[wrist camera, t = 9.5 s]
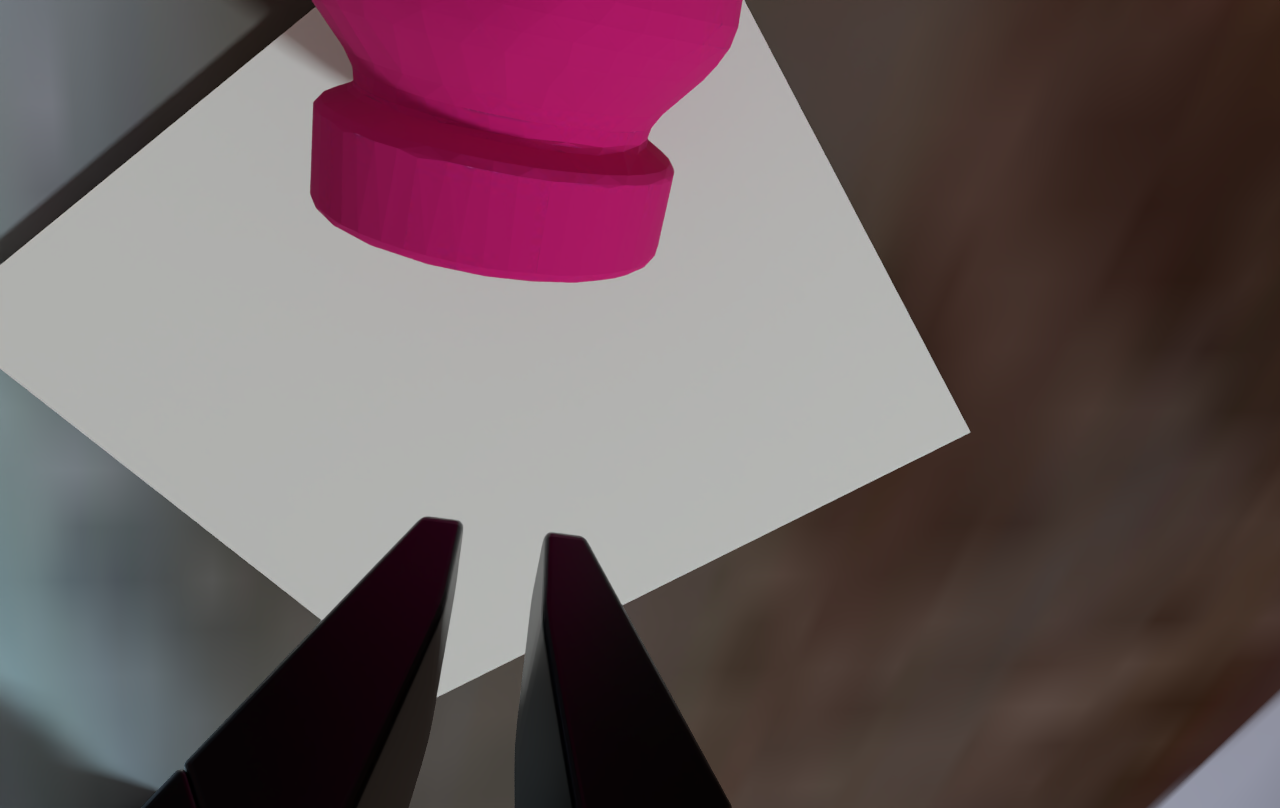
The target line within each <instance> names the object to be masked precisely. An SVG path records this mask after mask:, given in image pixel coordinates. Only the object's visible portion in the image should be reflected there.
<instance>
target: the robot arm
mask: <svg viewBox="0 0 1280 808" xmlns="http://www.w3.org/2000/svg"><path fill="white" fill-rule="evenodd" d="M462 536H463V524H462V523H461V522H460V521H459V520H454V519H446V518H438V517H431V516H426V517H423V518H421V519H420V520H418V521H417V522H416V523H415V524H414V525H413V526H412V527H411V529H410V530H409V531H408V532H407V533H406V534H405V535H404V536H403V537H402V538H401V539H400V540H399V541H398V542H397V543H396V544H395V545H394V546H393V547H392V548H391V549H390V550H389V551H388V552H387V553H386V554H385V555H384V557H383V558H382V559H381V560H380V561H379V562H378V563H377V564H376V565H375V566H374V567H373V568H372V569H371V570H370V571H369V572H368V573H367V574H366V575H365V576H364V577H363V578H362V579H361V580H360V581H359V582H358V584H357V585H356V586H355V587H354V588H353V589H352V590H351V591H350V592H349V593H348V594H347V595H346V596H345V597H344V598H343V599H342V600H341V601H340V602H339V603H338V604H337V605H336V606H335V607H334V608H333V609H332V610H331V612H330V613H329V614H328V615H327V616H326V617H325V618H324V619H323V620H322V621H321V622H320V623H319V624H318V625H317V626H316V627H315V628H314V629H313V630H312V631H311V632H310V633H309V634H308V635H307V636H306V637H305V638H304V640H303V641H302V642H301V643H300V644H299V645H298V646H297V647H296V648H295V649H294V650H293V651H292V652H291V653H290V654H289V655H288V656H287V657H286V658H285V659H284V660H283V661H282V662H281V663H280V664H279V665H278V667H277V668H276V669H275V670H274V671H273V672H272V673H271V674H270V675H269V676H268V677H267V678H266V679H265V680H264V681H263V682H262V683H261V684H260V685H259V686H258V687H257V688H256V689H255V690H254V691H253V692H252V693H251V695H250V696H249V697H248V698H247V699H246V700H245V701H244V702H243V703H242V704H241V705H240V706H239V707H238V708H237V709H236V710H235V711H234V712H233V713H232V714H231V715H230V716H229V717H228V718H227V719H226V720H225V722H224V723H223V724H222V725H221V726H220V727H219V728H218V729H217V730H216V731H215V732H214V733H213V734H212V735H211V736H210V737H209V738H208V739H207V740H206V741H205V742H204V743H203V744H202V745H201V746H200V747H199V748H198V750H197V751H196V752H195V753H194V754H193V755H192V756H191V757H190V758H189V759H188V760H187V761H186V762H185V765H184V767H185V771H184V770H177V771H176V772H175V773H174V774H173V775H172V776H171V777H170V778H169V779H168V780H167V781H166V782H165V783H164V784H163V785H162V786H161V787H160V788H159V789H158V790H157V791H156V793H155V794H154V795H153V796H152V797H151V798H150V799H149V800H148V801H147V802H146V803H145V804H144V805H143V806H142V807H141V808H408V807H409V804H410V801H411V798H412V794H413V791H414V788H415V785H416V781H417V778H418V775H419V771H420V768H421V765H422V761H423V758H424V754H425V750H426V747H427V743H428V739H429V734H430V730H431V725H432V720H433V715H434V709H435V704H436V698H437V692H438V687H439V681H440V675H441V669H442V664H443V658H444V652H445V647H446V641H447V635H448V630H449V624H450V618H451V613H452V607H453V601H454V595H455V589H456V582H457V575H458V567H459V559H460V552H461V544H462ZM515 808H732V807H731V804H730V802H729V800H728V799H727V797H726V795H725V793H724V791H723V789H722V788H721V786H720V784H719V782H718V780H717V778H716V777H715V775H714V773H713V771H712V769H711V767H710V766H709V764H708V762H707V760H706V758H705V756H704V755H703V753H702V751H701V749H700V747H699V745H698V743H697V742H696V740H695V738H694V736H693V734H692V732H691V731H690V729H689V727H688V725H687V723H686V721H685V720H684V718H683V716H682V714H681V712H680V710H679V709H678V707H677V705H676V703H675V701H674V699H673V698H672V696H671V694H670V692H669V690H668V688H667V687H666V685H665V683H664V681H663V679H662V677H661V676H660V674H659V672H658V670H657V668H656V666H655V665H654V663H653V661H652V659H651V657H650V655H649V654H648V652H647V650H646V648H645V646H644V644H643V643H642V641H641V639H640V637H639V635H638V633H637V632H636V630H635V628H634V626H633V624H632V622H631V620H630V619H629V617H628V615H627V613H626V611H625V609H624V608H623V606H622V604H621V602H620V600H619V598H618V597H617V595H616V593H615V591H614V589H613V587H612V586H611V584H610V582H609V580H608V578H607V576H606V575H605V573H604V571H603V569H602V567H601V565H600V564H599V562H598V560H597V558H596V556H595V554H594V553H593V551H592V549H591V547H590V545H589V543H588V542H587V540H586V539H585V538H584V537H582V536H579V535H571V534H563V533H555V532H549V533H547V534H546V535H545V537H544V539H543V543H542V548H541V553H540V558H539V563H538V568H537V573H536V578H535V583H534V588H533V594H532V600H531V607H530V616H529V624H528V633H527V642H526V650H525V659H524V668H523V677H522V685H521V694H520V703H519V711H518V720H517V730H516V742H515Z"/></svg>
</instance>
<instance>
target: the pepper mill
mask: <svg viewBox="0 0 1280 808" xmlns="http://www.w3.org/2000/svg"><path fill="white" fill-rule="evenodd" d="M742 1H743V0H312V2H313V3H314V5H315V6H316V8H317V9H318V11H319V12H320V14H321V15H322V17H323V18H324V20H325V21H326V22H327V24H328V25H329V27H330V28H331V30H332V31H333V33H334V34H335V36H336V37H337V39H338V40H339V42H340V43H341V45H342V46H343V48H344V50H345V52H346V54H347V56H348V58H349V61H350V63H351V65H352V70H353V81H351V82H348V83H345V84H342V85H339V86H335V87H333V88H330V89H328V90H325V91H323V93H322V94H321V95H320V96H319V97H318V98H317V99H316V100H315V101H314V102H313V120H312V149H311V178H310V195H311V198H312V200H313V203H314V205H315V207H316V209H317V210H318V211H319V212H320V213H321V214H322V215H323V216H324V217H325V218H326V219H327V220H328V221H329V222H330V223H332V224H333V225H334V226H335V227H337V228H339V229H341V230H343V231H345V232H347V233H348V234H350V235H352V236H354V237H356V238H358V239H360V240H361V241H363V242H365V243H367V244H369V245H371V246H374V247H377V248H380V249H383V250H386V251H389V252H392V253H395V254H398V255H401V256H404V257H407V258H410V259H413V260H416V261H419V262H422V263H425V264H429V265H433V266H438V267H443V268H448V269H452V270H457V271H462V272H467V273H472V274H476V275H481V276H486V277H495V278H504V279H514V280H523V281H532V282H564V283H578V282H588V281H598V280H606V279H613V278H617V277H621V276H625V275H628V274H630V273H632V272H634V271H637V270H639V269H641V268H644V267H645V266H646V265H647V264H648V263H649V262H650V260H651V259H652V258H653V257H654V256H655V254H656V251H657V247H658V244H659V239H660V235H661V230H662V226H663V221H664V217H665V212H666V208H667V203H668V199H669V194H670V190H671V185H672V181H673V176H674V168H673V166H672V164H671V162H670V160H669V158H668V157H667V156H666V155H665V154H664V153H663V152H662V151H661V150H660V149H659V148H657V147H656V146H655V145H654V144H653V143H651V142H650V141H649V140H648V136H649V133H650V131H651V128H652V127H653V126H654V124H655V123H656V122H657V121H658V120H659V118H660V117H661V116H662V115H663V114H664V113H665V112H666V111H668V110H669V109H670V108H671V107H672V106H674V105H675V104H676V103H677V102H678V101H679V100H681V99H682V98H683V97H684V96H685V95H687V94H688V93H689V92H690V91H691V90H692V89H694V88H695V87H696V86H697V85H698V84H700V83H701V82H702V81H703V80H704V79H705V78H706V77H707V76H708V75H709V74H710V73H711V72H712V71H713V69H714V68H715V67H716V66H717V65H718V64H719V62H720V61H721V60H722V58H723V57H724V56H725V54H726V53H727V52H728V50H729V49H730V48H731V45H732V42H733V40H734V37H735V35H736V32H737V29H738V26H739V19H740V13H741V7H742Z"/></svg>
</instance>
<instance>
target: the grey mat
mask: <svg viewBox="0 0 1280 808" xmlns="http://www.w3.org/2000/svg"><path fill="white" fill-rule="evenodd" d="M351 81H353V70H352V65H351V63H350V61H349V58H348V56H347V54H346V52H345V50H344V48H343V46H342V45H341V43H340V42H339V40H338V39H337V37H336V36H335V34H334V33H333V31H332V30H331V28H330V27H329V25H328V24H327V22H326V21H325V20H324V18H323V17H322V15H321V14H320V12H319V11H318V9H317V8H316V7H315V8H314V9H312V10H311V11H310V12H309V13H307V14H306V15H305V16H304V17H303V18H301V19H300V20H299V21H298V22H296V23H295V24H294V25H293V26H292V27H290V28H289V29H288V30H287V31H285V32H284V33H283V34H282V35H281V36H279V37H278V38H277V39H276V40H274V41H273V42H272V43H271V44H270V45H268V46H267V47H266V48H265V49H263V50H262V51H261V52H260V53H259V54H257V55H256V56H255V57H254V58H252V59H251V60H250V61H249V62H248V63H246V64H245V65H244V66H243V67H241V68H240V69H239V70H238V71H237V72H235V73H234V74H233V75H232V76H231V77H229V78H228V79H227V80H226V81H224V82H223V83H222V84H221V85H220V86H218V87H217V88H216V89H215V90H213V91H212V92H211V93H210V94H209V95H207V96H206V97H205V98H204V99H202V100H201V101H200V102H199V103H198V104H196V105H195V106H194V107H193V108H191V109H190V110H189V111H188V112H187V113H185V114H184V115H183V116H182V117H180V118H179V119H178V120H177V121H176V122H174V123H173V124H172V125H171V126H169V127H168V128H167V129H166V130H165V131H163V132H162V133H161V134H160V135H158V136H157V137H156V138H155V139H154V140H152V141H151V142H150V143H149V144H147V145H146V146H145V147H144V148H143V149H141V150H140V151H139V152H138V153H136V154H135V155H134V156H133V157H132V158H130V159H129V160H128V161H127V162H125V163H124V164H123V165H122V166H121V167H119V168H118V169H117V170H116V171H114V172H113V173H112V174H111V175H110V176H108V177H107V178H106V179H105V180H103V181H102V182H101V183H100V184H99V185H97V186H96V187H95V188H94V189H92V190H91V191H90V192H89V193H88V194H86V195H85V196H84V197H83V198H81V199H80V200H79V201H78V202H77V203H75V204H74V205H73V206H72V207H70V208H69V209H68V210H67V211H66V212H64V213H63V214H62V215H61V216H59V217H58V218H57V219H56V220H55V221H53V222H52V223H51V224H50V225H49V226H47V227H46V228H45V229H44V230H42V231H41V232H40V233H39V234H38V235H36V236H35V237H34V238H33V239H31V240H30V241H29V242H28V243H27V244H25V245H24V246H23V247H22V248H20V249H19V250H18V251H17V252H16V253H14V254H13V255H12V256H11V257H9V258H8V259H7V260H6V261H5V262H3V263H2V264H1V265H0V369H1V370H3V371H4V372H5V373H7V374H8V375H9V376H10V377H12V378H13V379H14V380H16V381H17V382H18V383H19V384H21V385H22V386H23V387H24V388H26V389H27V390H28V391H30V392H31V393H32V394H33V395H35V396H36V397H37V398H39V399H40V400H41V401H42V402H44V403H45V404H46V405H47V406H49V407H50V408H51V409H53V410H54V411H55V412H56V413H58V414H59V415H60V416H62V417H63V418H64V419H65V420H67V421H68V422H69V423H70V424H72V425H73V426H74V427H76V428H77V429H78V430H79V431H81V432H82V433H83V434H85V435H86V436H87V437H88V438H90V439H91V440H92V441H93V442H95V443H96V444H97V445H99V446H100V447H101V448H102V449H104V450H105V451H106V452H108V453H109V454H110V455H111V456H113V457H114V458H115V459H116V460H118V461H119V462H120V463H122V464H123V465H124V466H125V467H127V468H128V469H129V470H131V471H132V472H133V473H134V474H136V475H137V476H138V477H139V478H141V479H142V480H143V481H145V482H146V483H147V484H148V485H150V486H151V487H152V488H154V489H155V490H156V491H157V492H159V493H160V494H161V495H162V496H164V497H165V498H166V499H168V500H169V501H170V502H171V503H173V504H174V505H175V506H177V507H178V508H179V509H180V510H182V511H183V512H184V513H185V514H187V515H188V516H189V517H191V518H192V519H193V520H194V521H196V522H197V523H198V524H200V525H201V526H202V527H203V528H205V529H206V530H207V531H208V532H210V533H211V534H212V535H214V536H215V537H216V538H217V539H219V540H220V541H221V542H223V543H224V544H225V545H226V546H228V547H229V548H230V549H231V550H233V551H234V552H235V553H237V554H238V555H239V556H240V557H242V558H243V559H244V560H246V561H247V562H248V563H249V564H251V565H252V566H253V567H254V568H256V569H257V570H258V571H260V572H261V573H262V574H263V575H265V576H266V577H267V578H269V579H270V580H271V581H272V582H274V583H275V584H276V585H277V586H279V587H280V588H281V589H283V590H284V591H285V592H286V593H288V594H289V595H290V596H292V597H293V598H294V599H295V600H297V601H298V602H299V603H300V604H302V605H303V606H304V607H306V608H307V609H308V610H309V611H311V612H312V613H313V614H315V615H316V616H317V617H318V618H320V619H321V620H323V619H324V618H325V617H326V616H327V615H328V614H329V613H330V612H331V610H332V609H333V608H334V607H335V606H336V605H337V604H338V603H339V602H340V601H341V600H342V599H343V598H344V597H345V596H346V595H347V594H348V593H349V592H350V591H351V590H352V589H353V588H354V587H355V586H356V585H357V584H358V582H359V581H360V580H361V579H362V578H363V577H364V576H365V575H366V574H367V573H368V572H369V571H370V570H371V569H372V568H373V567H374V566H375V565H376V564H377V563H378V562H379V561H380V560H381V559H382V558H383V557H384V555H385V554H386V553H387V552H388V551H389V550H390V549H391V548H392V547H393V546H394V545H395V544H396V543H397V542H398V541H399V540H400V539H401V538H402V537H403V536H404V535H405V534H406V533H407V532H408V531H409V530H410V529H411V527H412V526H413V525H414V524H415V523H416V522H417V521H418V520H420V519H421V518H423V517H426V516H431V517H438V518H446V519H454V520H459V521H460V522H461V523H462V524H463V536H462V544H461V552H460V559H459V567H458V575H457V582H456V589H455V595H454V601H453V607H452V613H451V618H450V624H449V630H448V635H447V641H446V647H445V652H444V658H443V664H442V669H441V675H440V681H439V687H438V692H437V697H438V696H440V695H442V694H444V693H446V692H448V691H450V690H453V689H455V688H457V687H459V686H461V685H463V684H465V683H467V682H469V681H471V680H473V679H475V678H477V677H479V676H481V675H483V674H485V673H487V672H489V671H491V670H493V669H495V668H497V667H499V666H501V665H503V664H505V663H507V662H509V661H511V660H513V659H515V658H517V657H519V656H521V655H523V654H525V650H526V642H527V633H528V624H529V616H530V607H531V600H532V594H533V588H534V583H535V578H536V573H537V568H538V563H539V558H540V553H541V548H542V543H543V539H544V537H545V535H546V534H547V533H549V532H555V533H563V534H571V535H579V536H582V537H584V538H585V539H586V540H587V542H588V543H589V545H590V547H591V549H592V551H593V553H594V554H595V556H596V558H597V560H598V562H599V564H600V565H601V567H602V569H603V571H604V573H605V575H606V576H607V578H608V580H609V582H610V584H611V586H612V587H613V589H614V591H615V593H616V595H617V597H618V598H619V600H620V602H621V604H622V605H624V604H626V603H628V602H630V601H632V600H634V599H636V598H638V597H640V596H642V595H644V594H646V593H648V592H650V591H652V590H654V589H656V588H658V587H660V586H662V585H664V584H666V583H668V582H670V581H672V580H674V579H676V578H678V577H680V576H682V575H684V574H686V573H688V572H690V571H692V570H694V569H696V568H698V567H700V566H702V565H704V564H706V563H708V562H710V561H712V560H714V559H716V558H718V557H720V556H722V555H724V554H726V553H728V552H730V551H732V550H734V549H736V548H738V547H740V546H742V545H745V544H747V543H749V542H751V541H753V540H755V539H757V538H759V537H761V536H763V535H765V534H767V533H769V532H771V531H773V530H775V529H777V528H779V527H781V526H783V525H785V524H787V523H789V522H791V521H793V520H795V519H797V518H799V517H801V516H803V515H805V514H807V513H809V512H811V511H813V510H815V509H817V508H819V507H821V506H823V505H825V504H827V503H829V502H831V501H833V500H835V499H837V498H839V497H841V496H843V495H845V494H847V493H849V492H851V491H853V490H855V489H857V488H859V487H861V486H863V485H865V484H867V483H869V482H871V481H873V480H875V479H877V478H879V477H881V476H883V475H885V474H887V473H889V472H892V471H894V470H896V469H898V468H900V467H902V466H904V465H906V464H908V463H910V462H912V461H914V460H916V459H918V458H920V457H922V456H924V455H926V454H928V453H930V452H932V451H934V450H936V449H938V448H940V447H942V446H944V445H946V444H948V443H950V442H952V441H954V440H956V439H958V438H960V437H962V436H964V435H966V434H968V433H970V430H969V428H968V427H967V425H966V423H965V421H964V419H963V417H962V415H961V413H960V411H959V409H958V407H957V406H956V404H955V402H954V400H953V398H952V396H951V394H950V392H949V390H948V388H947V386H946V385H945V383H944V381H943V379H942V377H941V375H940V373H939V371H938V369H937V367H936V366H935V364H934V362H933V360H932V358H931V356H930V354H929V352H928V350H927V348H926V346H925V345H924V343H923V341H922V339H921V337H920V335H919V333H918V331H917V329H916V327H915V325H914V324H913V322H912V320H911V318H910V316H909V314H908V312H907V310H906V308H905V306H904V304H903V303H902V301H901V299H900V297H899V295H898V293H897V291H896V289H895V287H894V285H893V283H892V282H891V280H890V278H889V276H888V274H887V272H886V270H885V268H884V266H883V264H882V262H881V261H880V259H879V257H878V255H877V253H876V251H875V249H874V247H873V245H872V243H871V241H870V240H869V238H868V236H867V234H866V232H865V230H864V228H863V226H862V224H861V222H860V220H859V219H858V217H857V215H856V213H855V211H854V209H853V207H852V205H851V203H850V201H849V199H848V198H847V196H846V194H845V192H844V190H843V188H842V186H841V184H840V182H839V180H838V178H837V177H836V175H835V173H834V171H833V169H832V167H831V165H830V163H829V161H828V159H827V157H826V156H825V154H824V152H823V150H822V148H821V146H820V144H819V142H818V140H817V138H816V136H815V135H814V133H813V131H812V129H811V127H810V125H809V123H808V121H807V119H806V117H805V115H804V114H803V112H802V110H801V108H800V106H799V104H798V102H797V100H796V98H795V96H794V94H793V93H792V91H791V89H790V87H789V85H788V83H787V81H786V79H785V77H784V75H783V73H782V72H781V70H780V68H779V66H778V64H777V62H776V60H775V58H774V56H773V54H772V52H771V51H770V49H769V47H768V45H767V43H766V41H765V39H764V37H763V35H762V33H761V31H760V30H759V28H758V26H757V24H756V22H755V20H754V18H753V16H752V14H751V12H750V10H749V9H748V7H747V5H746V3H745V1H744V0H743V1H742V7H741V13H740V19H739V26H738V29H737V32H736V35H735V37H734V40H733V42H732V45H731V48H730V49H729V50H728V52H727V53H726V54H725V56H724V57H723V58H722V60H721V61H720V62H719V64H718V65H717V66H716V67H715V68H714V69H713V71H712V72H711V73H710V74H709V75H708V76H707V77H706V78H705V79H704V80H703V81H702V82H701V83H700V84H698V85H697V86H696V87H695V88H694V89H692V90H691V91H690V92H689V93H688V94H687V95H685V96H684V97H683V98H682V99H681V100H679V101H678V102H677V103H676V104H675V105H674V106H672V107H671V108H670V109H669V110H668V111H666V112H665V113H664V114H663V115H662V116H661V117H660V118H659V120H658V121H657V122H656V123H655V124H654V126H653V127H652V128H651V131H650V133H649V136H648V140H649V141H650V142H651V143H653V144H654V145H655V146H656V147H657V148H659V149H660V150H661V151H662V152H663V153H664V154H665V155H666V156H667V157H668V158H669V160H670V162H671V164H672V166H673V168H674V176H673V181H672V185H671V190H670V194H669V199H668V203H667V208H666V212H665V217H664V221H663V226H662V230H661V235H660V239H659V244H658V247H657V251H656V254H655V256H654V257H653V258H652V259H651V260H650V262H649V263H648V264H647V265H646V266H645V267H644V268H641V269H639V270H637V271H634V272H632V273H630V274H628V275H625V276H621V277H617V278H613V279H606V280H598V281H588V282H578V283H564V282H532V281H523V280H514V279H504V278H495V277H486V276H481V275H476V274H472V273H467V272H462V271H457V270H452V269H448V268H443V267H438V266H433V265H429V264H425V263H422V262H419V261H416V260H413V259H410V258H407V257H404V256H401V255H398V254H395V253H392V252H389V251H386V250H383V249H380V248H377V247H374V246H371V245H369V244H367V243H365V242H363V241H361V240H360V239H358V238H356V237H354V236H352V235H350V234H348V233H347V232H345V231H343V230H341V229H339V228H337V227H335V226H334V225H333V224H332V223H330V222H329V221H328V220H327V219H326V218H325V217H324V216H323V215H322V214H321V213H320V212H319V211H318V210H317V209H316V207H315V205H314V203H313V200H312V198H311V195H310V178H311V149H312V120H313V102H314V101H315V100H316V99H317V98H318V97H319V96H320V95H321V94H322V93H323V91H325V90H328V89H330V88H333V87H335V86H339V85H342V84H345V83H348V82H351Z"/></svg>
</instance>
